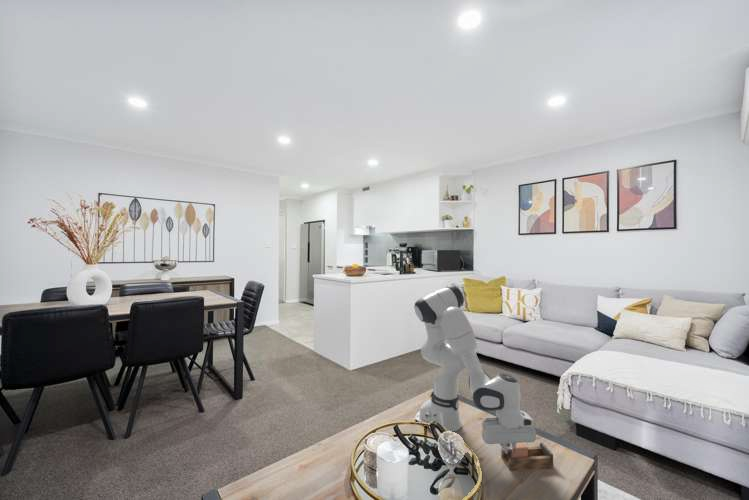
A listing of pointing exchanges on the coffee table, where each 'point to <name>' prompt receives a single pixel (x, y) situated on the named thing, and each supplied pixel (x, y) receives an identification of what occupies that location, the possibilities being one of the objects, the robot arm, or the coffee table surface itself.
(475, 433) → the coffee table surface
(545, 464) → the brown wooden open box
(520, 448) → the block
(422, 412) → the robot arm
